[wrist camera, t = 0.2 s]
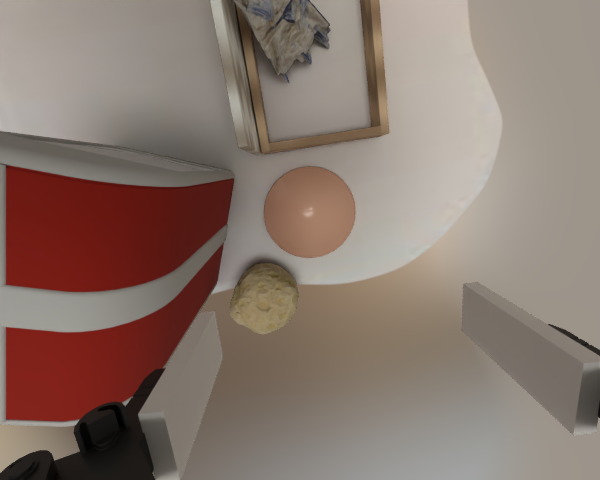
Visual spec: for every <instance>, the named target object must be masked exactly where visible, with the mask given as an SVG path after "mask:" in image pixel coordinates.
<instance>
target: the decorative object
mask: <svg viewBox="0 0 600 480" xmlns="http://www.w3.org/2000/svg"><path fill="white" fill-rule="evenodd" d="M298 297H299V296H298V289H297V285H296V281H295V280H294V278H293V277H292V276H291V275H290V274H289V273H288V272H287V271H286V270H284V269H282V268H281V267H280V266H278V265H275V264H271V263H268V264H266V263H258V264H256V265H254V266H253V267H251V268H249V269H248V270H247V271H246V272H245V273H244V274H243V275H242V277H241V278H240V280H239V282H238V284H237V286H236V287H235V289H234V295H233V297H232V300H231V302H230V313H231V317H232V318H233V319H234V320H235V321H236V322H237V323H238V324H242V325H244V326H245V327H247V328H250V329H251V330H252V331H253V332H255V333H259V334H267V333H269V332H273V331H275V330H278V329H280V328H282V327H283V326H284V325H285V324H286V323H287V322H288V321H290V319H291V318H292V315H293V313H294V312H295V311H296V309H297V301H298Z"/></svg>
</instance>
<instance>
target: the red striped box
mask: <svg viewBox="0 0 600 480" xmlns="http://www.w3.org/2000/svg"><path fill="white" fill-rule="evenodd" d="M233 184H234V173H233V172H232V171H229V170H225V169H220V168H215V167H211V166H206V165H202V164H197V163H193V162H188V161H184V160H179V159H174V158H170V157H165V156H161V155H156V154H152V153H147V152H142V151H138V150H133V149H129V148H124V147H119V146H111V145H103V144H95V143H88V142H80V141H72V140H65V139H57V138H49V137H42V136H34V135H26V134H18V133H11V132H3V131H0V424H5V425H30V426H58V427H65V426H73V425H76V424H77V422H78V421H79V420H80V419H81V418H82V417H83V416H84V415H85V414H86V413H88V412H89V411H91V410H92V409H94V408H96V407H98V406H100V405H103V404H105V403H110V402H121V403H123V404H124V405H127V404H128V402H129V401H130V399H131V398H133V395H134V393H135V392H136V390H138V387H139V386H140V384H141V383H142V381H143V380H144V379H145V378H146V377H147V376H148V375H149V374H150V373H152V372H153V371H154V370H155V369H162V368H166V366H167V364H168V363H169V361H170V359H171V358H172V356H173V355H174V353H175V351H176V350H177V348H178V346H179V345H180V343H181V342H182V340H183V338H184V337H185V335H186V333H187V332H188V330H189V329H190V327H191V325H192V324H193V322H194V320H195V319H196V317H197V316H198V314H199V312H200V311H201V309H202V307H203V306H204V304H205V303H206V301H207V299H208V298H209V296H210V294H211V293H212V291H213V289H214V288H215V286H216V284H217V281H218V275H219V269H220V262H221V256H222V250H223V244H224V241H225V240H226V235H227V229H228V224H227V220H228V214H229V208H230V202H231V196H232V190H233Z"/></svg>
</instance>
